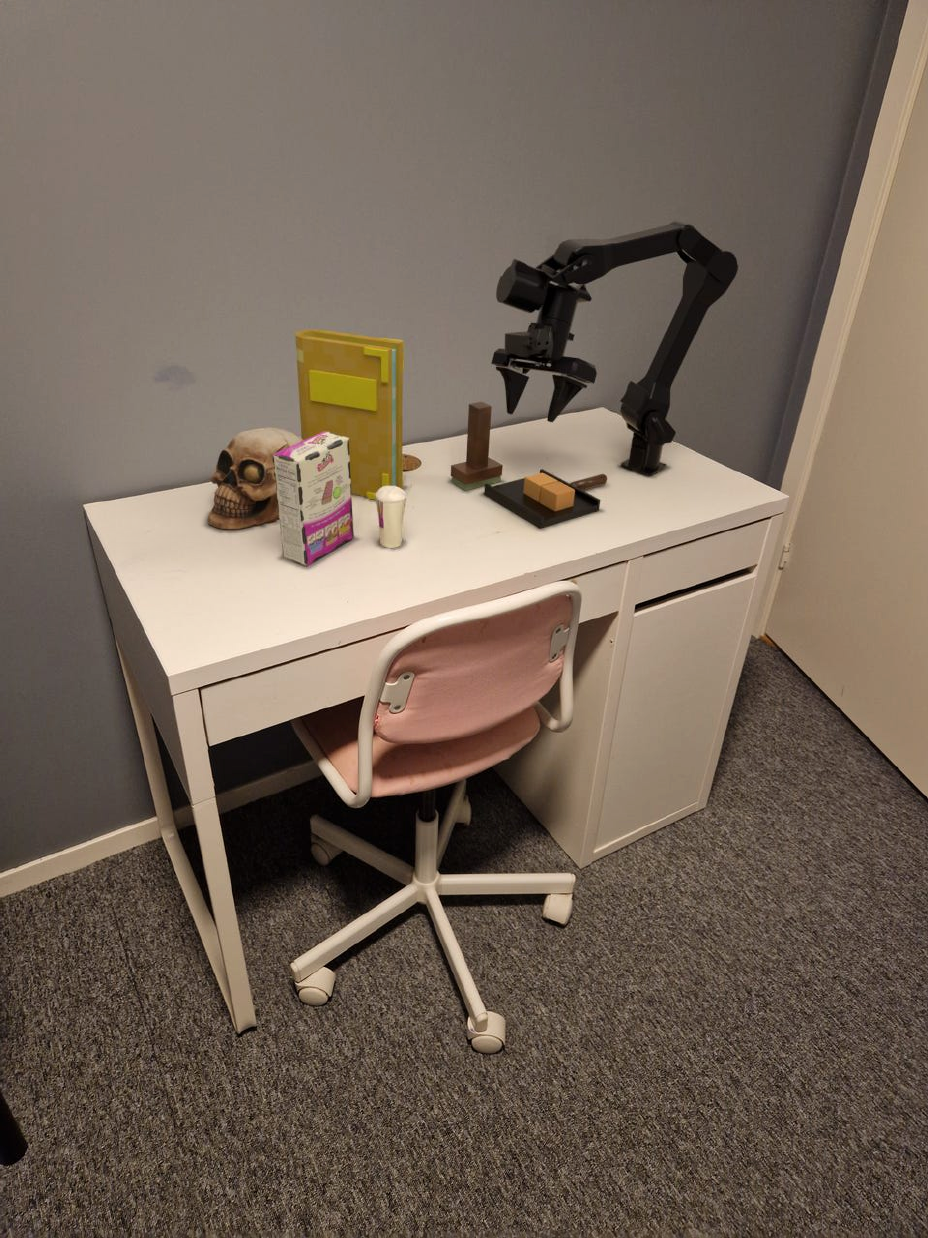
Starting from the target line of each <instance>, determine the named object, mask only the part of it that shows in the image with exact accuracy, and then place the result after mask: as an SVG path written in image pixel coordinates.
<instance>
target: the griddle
mask: <svg viewBox="0 0 928 1238" xmlns="http://www.w3.org/2000/svg"><path fill="white" fill-rule="evenodd" d="M542 472H543V473H545V474H546V475H548V476H550V477H552V478H554V479H556V480H558V482H561V483H563V484H565V485H567V486H569V487H571V488H572V489H574V490H575V495H574V503H573V506H572V507H569V508H566V509H562V510H559V511H553V510H552V509H550V508H548V507H546V506H545V505H543V504H541V503H540V501H539V502H538V501H536V500H534V499H532V498H531V497H529V496H527V495H525V494H524V493H523V491H524V479H525V477H523V478H519V479H515V480H511V481H507V482H503V483H500V484H496V485H492V484H485V486H484V492H483V495H484V496H486V497H487V498H489V499H490V500H492V501H493V502H496V503H497V504H499V505H500V506H502V507H504V508H505V509H507V510H508V511H510V512H512V513H514V514H515V515H516V516H518V517H520V518H522V519H523V520H525V521H527V522H528V523H530V524H532V525H533V526H534V527H537V528H538V529H544V528H547V527H550V526H555V525H557V524H560V523H563V522H567V521H570V520H573V519H576V518H579V517H582V516H586V515H589V514H592V513H593V514H594V513H596V512H599V511H600V505H601V499H599V498H598V497H596V496H595V495H592V494H591V493H590V494H589V493H588V492H587V491H584V490H588V489H591V488H595V487H598V486H601V485H604V484H606V483H608V476H607V475H606V474H604V473H600V474H596V475H592V476H590V477H586V478H582V479H579V480H574V481H571V482H568V481H566V480H564V479H562V478H560V477H558V476H557V475H555V474H553V473H551V472H549V471H547V470H546V469H543V468H541V469H539V473H542Z"/></svg>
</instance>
